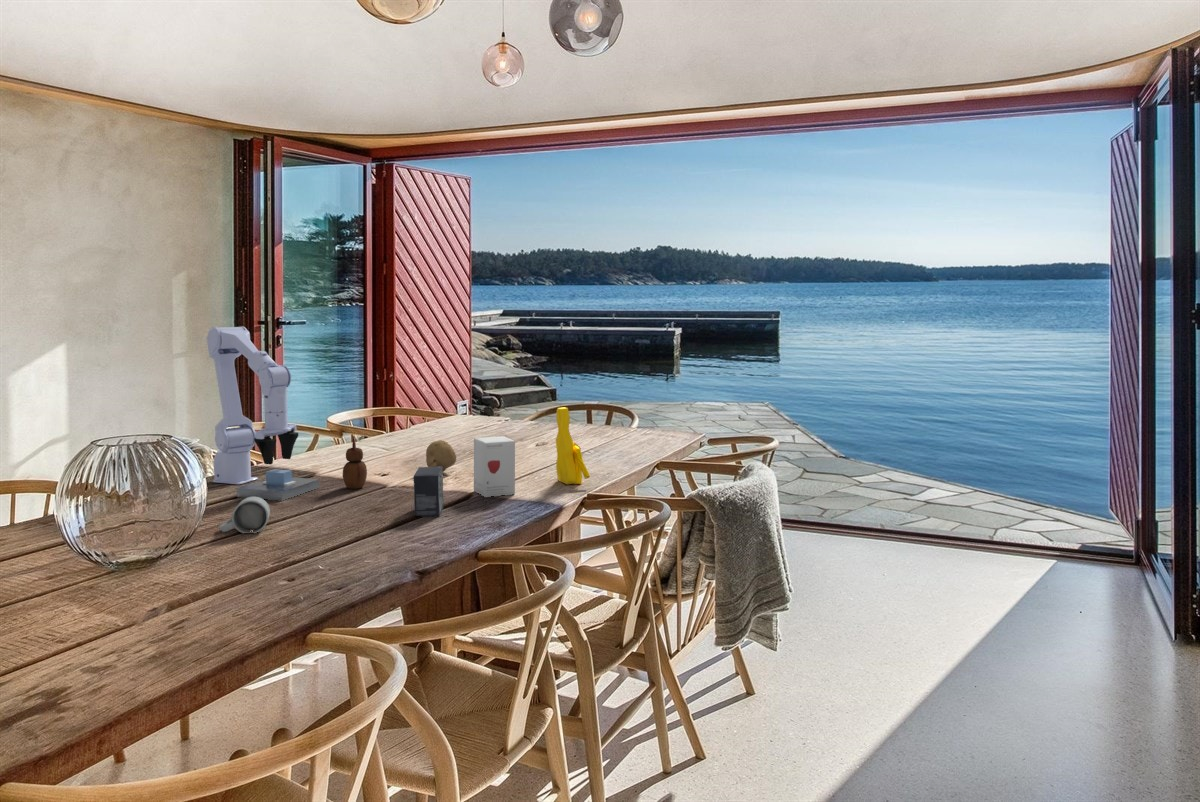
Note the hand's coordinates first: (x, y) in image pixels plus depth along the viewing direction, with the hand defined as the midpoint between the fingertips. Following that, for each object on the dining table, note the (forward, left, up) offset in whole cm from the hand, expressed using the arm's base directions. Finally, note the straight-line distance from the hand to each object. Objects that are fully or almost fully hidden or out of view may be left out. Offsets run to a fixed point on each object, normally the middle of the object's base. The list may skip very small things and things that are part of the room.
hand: (277, 461), depth 236 cm
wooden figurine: (+16, +12, -9) cm, 22 cm away
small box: (+48, -5, -9) cm, 49 cm away
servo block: (0, 0, -9) cm, 9 cm away
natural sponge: (+29, +38, -9) cm, 49 cm away
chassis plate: (0, 0, -9) cm, 9 cm away
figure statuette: (+70, +38, -9) cm, 80 cm away
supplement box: (+55, +19, -9) cm, 59 cm away
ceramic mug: (+17, -34, -9) cm, 39 cm away
